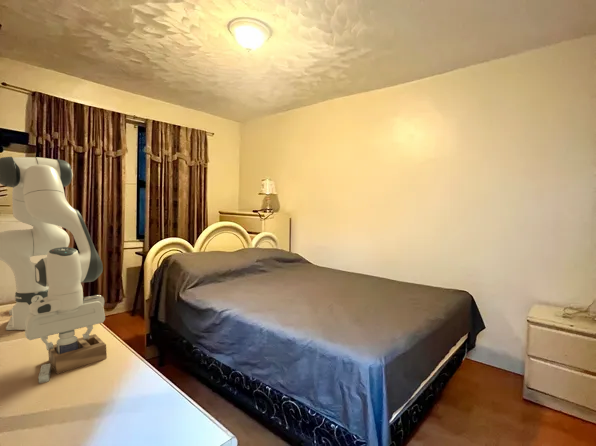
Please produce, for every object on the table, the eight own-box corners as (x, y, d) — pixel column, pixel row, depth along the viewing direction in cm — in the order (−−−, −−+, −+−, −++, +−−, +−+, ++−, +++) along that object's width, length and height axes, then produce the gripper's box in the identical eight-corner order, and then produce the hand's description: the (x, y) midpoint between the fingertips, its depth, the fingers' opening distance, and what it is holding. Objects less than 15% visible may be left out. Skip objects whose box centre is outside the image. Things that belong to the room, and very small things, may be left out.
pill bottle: (83, 359, 104) (81, 329, 103) (66, 367, 99) (64, 335, 98) (70, 356, 106) (69, 327, 105) (53, 364, 101) (51, 333, 100)
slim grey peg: (42, 372, 97) (41, 365, 97) (51, 370, 98) (51, 362, 98) (39, 384, 90) (38, 377, 90) (49, 382, 91) (48, 374, 91)
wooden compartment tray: (48, 360, 104) (48, 346, 103) (95, 346, 113) (95, 334, 113) (56, 373, 95) (55, 358, 95) (106, 358, 105) (106, 344, 104)
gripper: (100, 291, 111) (103, 331, 112) (22, 306, 96) (25, 351, 97) (106, 295, 106) (108, 336, 107) (25, 311, 92) (28, 358, 93)
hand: (68, 344), depth 102 cm, fingers open, 8 cm apart
